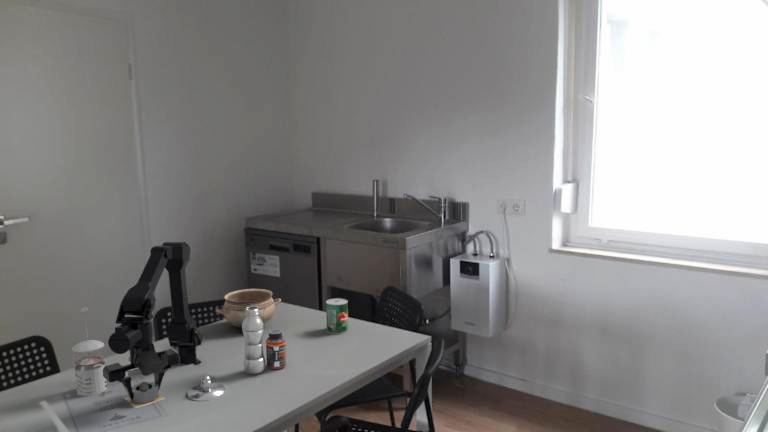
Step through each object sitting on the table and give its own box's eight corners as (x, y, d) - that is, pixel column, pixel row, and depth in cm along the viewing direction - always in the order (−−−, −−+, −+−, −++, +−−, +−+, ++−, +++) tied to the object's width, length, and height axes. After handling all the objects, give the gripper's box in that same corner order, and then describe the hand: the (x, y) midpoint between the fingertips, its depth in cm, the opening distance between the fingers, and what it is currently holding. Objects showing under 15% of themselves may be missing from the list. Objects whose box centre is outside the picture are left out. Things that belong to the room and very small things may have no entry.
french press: (85, 404, 160) (77, 315, 157) (61, 394, 166) (53, 308, 163) (118, 390, 168) (111, 305, 165) (94, 381, 175) (87, 299, 171)
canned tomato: (347, 334, 212) (346, 304, 210) (325, 334, 212) (324, 304, 210) (349, 326, 220) (348, 298, 218) (327, 326, 220) (327, 298, 218)
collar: (128, 397, 161) (127, 387, 161) (152, 390, 165) (151, 379, 165) (136, 405, 156) (136, 395, 156) (161, 397, 160) (160, 387, 160)
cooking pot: (224, 341, 207) (222, 307, 205) (209, 326, 223) (207, 294, 221) (291, 327, 220) (290, 295, 218) (272, 314, 236) (271, 284, 234)
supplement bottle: (282, 371, 180) (280, 335, 179) (263, 369, 182) (262, 334, 180) (289, 363, 186) (287, 328, 184) (271, 362, 187) (269, 327, 186)
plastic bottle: (247, 378, 176) (244, 313, 173) (241, 370, 181) (238, 307, 178) (268, 373, 178) (265, 309, 175) (262, 366, 184) (259, 303, 181)
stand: (124, 401, 161) (123, 382, 160) (154, 392, 166) (152, 373, 166) (135, 411, 155) (133, 391, 154) (165, 402, 161) (164, 382, 160)
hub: (181, 395, 165) (180, 375, 164) (215, 384, 171) (214, 365, 170) (197, 407, 157) (196, 386, 156) (231, 395, 164) (230, 376, 163)
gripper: (114, 357, 146) (119, 416, 149) (186, 338, 159) (190, 393, 161) (99, 345, 154) (104, 401, 157) (169, 328, 167) (173, 381, 169)
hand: (144, 394), depth 161 cm, fingers closed on collar, 7 cm apart
